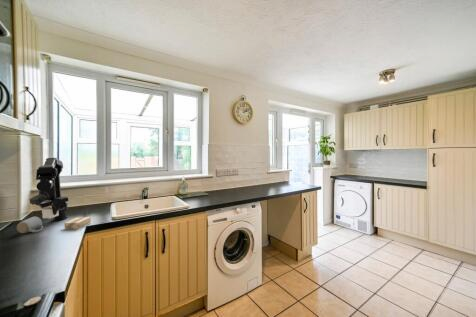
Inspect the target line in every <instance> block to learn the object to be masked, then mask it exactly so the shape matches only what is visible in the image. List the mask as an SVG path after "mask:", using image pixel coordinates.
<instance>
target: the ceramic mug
mask: <svg viewBox="0 0 476 317" xmlns="http://www.w3.org/2000/svg"><path fill="white" fill-rule="evenodd" d="M43 228H44V226H43V222H42V219H41V218H40V217H38V216H32V217H29V218H26V219H24V220H23V221H20V222H19V223H18V224H17V225H16V231H17V232H19V233H20V234H27V233H30V232H31V233H39V232H41V231H42V230H43Z"/></svg>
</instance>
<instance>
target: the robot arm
mask: <svg viewBox="0 0 476 317" xmlns="http://www.w3.org/2000/svg"><path fill="white" fill-rule="evenodd" d="M63 169H64V164H63V161H62V160H60V159H58V157H47V158H45V162H44V164H43V165H40V166H39V167H38V168H37V169H36V177H35V180H36V181H38V180H39V182H38V183H37V184H36V186H35V187H36V189H37V190H38V191H39V192H38V194H36V195H34V196H33V197H31V198H29V204H30V205H35V206H37V207H40V208H41V209H42V208H44V207H47V206H52V210H53V214H54V215H56V213H57V211H59V216H56V217H53V218H51V220H50V221H51V222H59V221H62V220H65V219H68V218H69V217H68V216H67V213H66V211H67V210H68V209H69V206H68V203H67V202H69V197H68V196H63V195H62V191H61V179H60V177H61V176H60V174H61V173H62V172H63Z"/></svg>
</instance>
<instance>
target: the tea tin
mask: <svg viewBox="0 0 476 317" xmlns="http://www.w3.org/2000/svg"><path fill="white" fill-rule="evenodd" d="M41 214H42V219H53V217H56V216H59V211H57V213H56V215H54V214H53V210H52V206H47V207H44V208H41Z"/></svg>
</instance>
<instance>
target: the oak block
mask: <svg viewBox="0 0 476 317" xmlns="http://www.w3.org/2000/svg"><path fill="white" fill-rule="evenodd" d="M91 220H92V219H91V217H87V216H86V217H85V216H84V217H75V218H73V219H70V220H68V221H65V222H63V223H64V225H63V226H64V230H80V229H81V227H82V228H84V227H85V226H84V225H86V224H88V223H90V222H91V223H92V221H91ZM91 223H90V224H91ZM88 225H89V224H88ZM83 226H84V227H83ZM86 226H87V225H86ZM79 228H80V229H79Z"/></svg>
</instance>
